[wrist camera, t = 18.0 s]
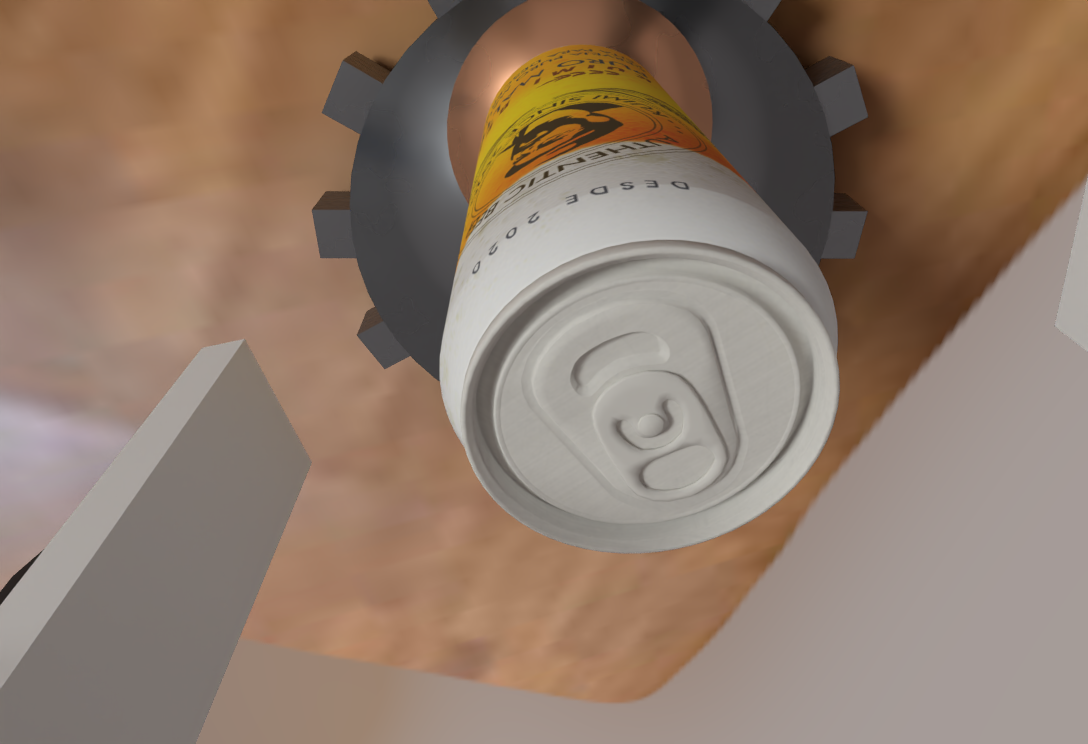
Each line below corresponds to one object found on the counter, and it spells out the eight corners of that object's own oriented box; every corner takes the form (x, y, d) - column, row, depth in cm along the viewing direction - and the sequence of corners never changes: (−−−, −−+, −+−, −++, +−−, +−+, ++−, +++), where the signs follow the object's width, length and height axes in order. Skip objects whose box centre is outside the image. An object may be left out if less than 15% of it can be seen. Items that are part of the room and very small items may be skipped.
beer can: (622, -1, 20) (795, 117, 7) (698, 179, 23) (913, 484, 10) (447, 104, 21) (339, 353, 9) (540, 261, 24) (558, 614, 12)
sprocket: (280, -100, 21) (153, -118, 14) (914, -89, 21) (1111, -101, 14) (364, 418, 31) (318, 560, 24) (785, 416, 32) (860, 553, 25)
